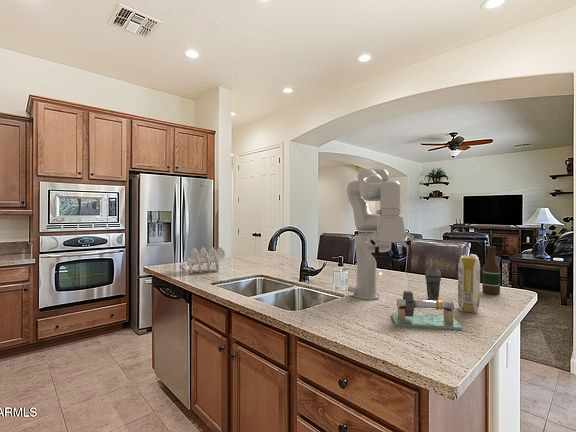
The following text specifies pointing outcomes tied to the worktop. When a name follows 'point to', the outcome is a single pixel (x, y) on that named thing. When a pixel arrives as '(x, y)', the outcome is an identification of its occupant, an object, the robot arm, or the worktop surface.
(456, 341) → the worktop surface
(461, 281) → the juice carton
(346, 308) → the worktop surface
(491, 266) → the beer bottle
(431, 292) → the beverage cup
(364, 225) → the robot arm
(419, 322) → the teal plate with rod
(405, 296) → the ring
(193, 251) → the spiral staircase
